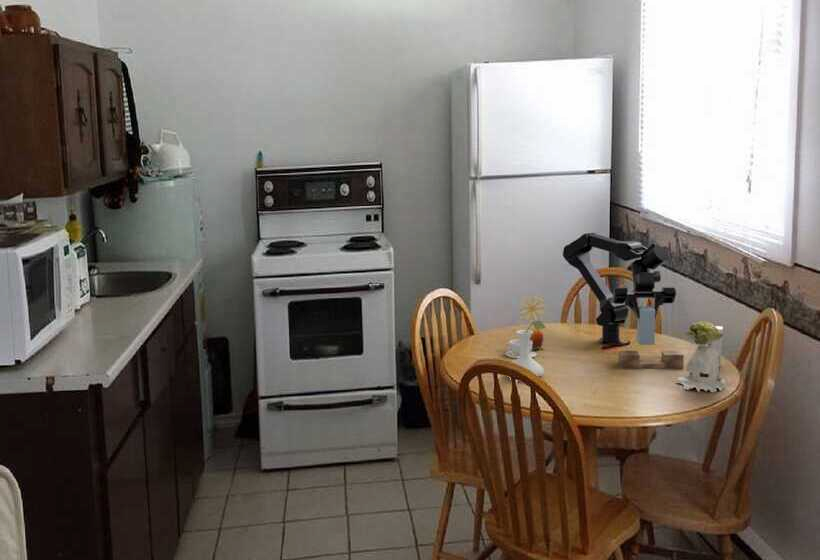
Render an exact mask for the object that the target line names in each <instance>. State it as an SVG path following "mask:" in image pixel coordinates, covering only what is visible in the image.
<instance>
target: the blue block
mask: <svg viewBox="0 0 820 560" xmlns="http://www.w3.org/2000/svg"><path fill="white" fill-rule="evenodd" d="M638 309H639V314H640V318H639V319H638V318H637V317H636V318H637V319H636V320H637V326H636V327H637V328H636V330H637V331H636V342H637V343H638V345H639V346H654V345H655V341H656V340H655V339H656V338H655V335H656V333H655V332H656V329H655V328H656V319H655V309H654V308H653V306H638Z"/></svg>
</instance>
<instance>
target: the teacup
mask: <svg viewBox="0 0 820 560" xmlns="http://www.w3.org/2000/svg"><path fill="white" fill-rule="evenodd" d="M532 344H533V342H532V341H531V340H529V353H530V354H529V355H530V357H531V358H535V357H536V356H537V353H536V352H535V351H533V350H532ZM508 345H509V346H508ZM505 349H506V350H508V351H506V353H505V356H507V357H509V358H510V359H511V358H513V359H518V358H519V357H516V356H520V354H521V342H520V339H519V338H515V339H511V340H509V342H507V343H506V344H505ZM512 353H513V354H514V355H515V356H514V355H512Z"/></svg>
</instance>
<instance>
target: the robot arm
mask: <svg viewBox="0 0 820 560" xmlns="http://www.w3.org/2000/svg"><path fill="white" fill-rule="evenodd" d="M593 248H596V249H598V250H603V251H606V252H609V253H612V254H614V255H615V257H616V258H618V259H620V260H622V261H623V262H628V261H633V262H630V264H629V265H628V266H627V268H626V270H627V271H629V272H631V274H632V275H631V276H632V286H633V289H631V290H630V289H629V288H628V287H625V286H623V287H618V286H617V287H615V288H614V289H613V293H612V292H611V290H610V289H609V287H608V286H607V284H606V283H605V282H604V280H603V278H602V277H601V276H600V274H599V273H598V271H597V269H596V268H595V267H594V265H593V263H592V262H591V253H590V252H591V251H592V250H593ZM669 255H670V254H669V252H668V250H666V249H665V248H664V247H663V246H661V245H660V244H659V243H658V242H654V243H652V244H650V246H649V247H645V246H644V245H643V244H642V243H641V242H639V241H637V240H635V241H634V240H633V241H632V240H626V241H625V240H623V241H622V240H618V239H614V238H610V237H607V236H603V235H601V234H597V233H596V232H587V233H583V234H582V235H581V236H580V237H579V238H576V240H573V241H571V242H570V243H569V244H566V245H565V246H564V248H563V251H562V256H563V259H564V260H565V261H566V262H567V263H568V264H569V265H570V266H571V267H574V268H575V269H577V270H578V272H579V273H580V275H581V276H582V278H583V279H584V280H585V282H586V284H587V285H588V286H589V288H590V290H591V291H592V293H593V294H594V296H595V298H596V299H597V300H598V301H599V311H600V314H599V315H598V316H597V317H596V319H595V321H596V324H597V326H600V327H601V337H600V338H599V340H600V341H599V342H600V343H601V345H621V344H623V343H622V341H621V339H620V328H621V327H620V325H621V324H625V322H626V320H627V318H628V316H629V311H630V310H631V311H632V313H633V314H634V315H635V317H636V318H638V319H639V318H640V314H639V309H638V307H639V306H638V305H639V304H638V300H637V299H653V303H652V307H653V308H654V309H655V320H656V318H657V314H658V310H659V307H660V306H663V305H664V304H674V302H675V298H676V296H677V289H676V288H675V287H674V286H662V287H661V291H654V290H655V286H656V285H655V283H660V282H661V278H662V276H661V270H660V271H659V270H656V269H658V268H659V267H660V266H662V265H664V263H666V262H667V261H668V260H670V256H669ZM651 270H653V272H651ZM654 270H655V271H654ZM629 309H630V310H629Z"/></svg>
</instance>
